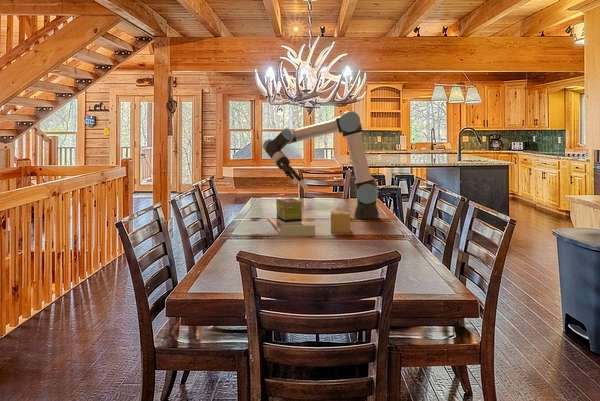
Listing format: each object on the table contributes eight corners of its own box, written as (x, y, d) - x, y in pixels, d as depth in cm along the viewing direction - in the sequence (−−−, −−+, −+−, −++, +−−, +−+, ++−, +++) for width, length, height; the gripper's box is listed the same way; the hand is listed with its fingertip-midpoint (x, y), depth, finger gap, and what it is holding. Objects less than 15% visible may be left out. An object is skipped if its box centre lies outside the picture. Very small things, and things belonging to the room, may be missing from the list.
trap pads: (293, 219, 306) (293, 219, 306) (297, 223, 294) (297, 222, 293) (271, 220, 304) (271, 219, 304) (274, 223, 291) (274, 223, 291)
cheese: (350, 229, 274) (350, 211, 273) (350, 233, 264) (350, 213, 262) (330, 229, 275) (330, 210, 274) (329, 232, 265) (330, 213, 263)
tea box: (275, 224, 289) (275, 198, 287) (292, 223, 292) (292, 197, 290) (284, 229, 275) (284, 201, 273) (302, 228, 278) (302, 200, 277)
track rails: (296, 219, 308) (296, 216, 307) (309, 230, 270) (309, 227, 270) (268, 220, 304) (268, 217, 304) (277, 231, 267) (277, 228, 267)
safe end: (309, 230, 270) (309, 221, 270) (315, 235, 257) (315, 225, 257) (277, 231, 267) (277, 222, 267) (281, 236, 254) (281, 226, 254)
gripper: (285, 170, 312) (305, 195, 303) (266, 159, 290) (287, 185, 281) (294, 162, 310) (315, 186, 301) (276, 149, 288) (297, 176, 279)
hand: (302, 186), depth 291 cm, fingers open, 13 cm apart
